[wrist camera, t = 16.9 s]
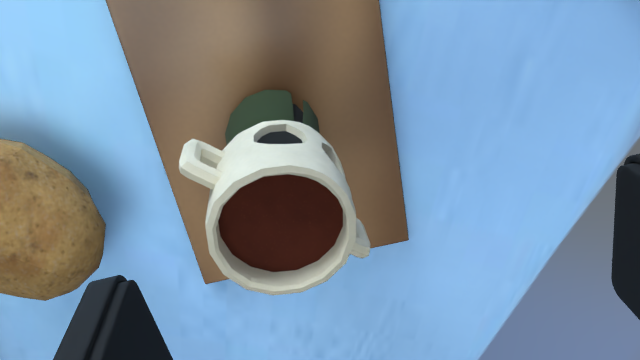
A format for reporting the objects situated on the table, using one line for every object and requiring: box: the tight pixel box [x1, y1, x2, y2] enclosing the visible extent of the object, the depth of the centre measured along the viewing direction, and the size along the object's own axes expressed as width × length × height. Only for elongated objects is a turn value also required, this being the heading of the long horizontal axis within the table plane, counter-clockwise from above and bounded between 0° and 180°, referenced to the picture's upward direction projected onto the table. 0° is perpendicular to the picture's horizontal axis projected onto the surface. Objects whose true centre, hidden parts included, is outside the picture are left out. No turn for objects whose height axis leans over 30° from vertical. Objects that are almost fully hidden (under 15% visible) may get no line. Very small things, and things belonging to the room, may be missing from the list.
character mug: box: [179, 90, 371, 295], centre depth 31 cm, size 11×7×13 cm, turn 59°
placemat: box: [106, 0, 409, 284], centre depth 37 cm, size 16×22×1 cm
